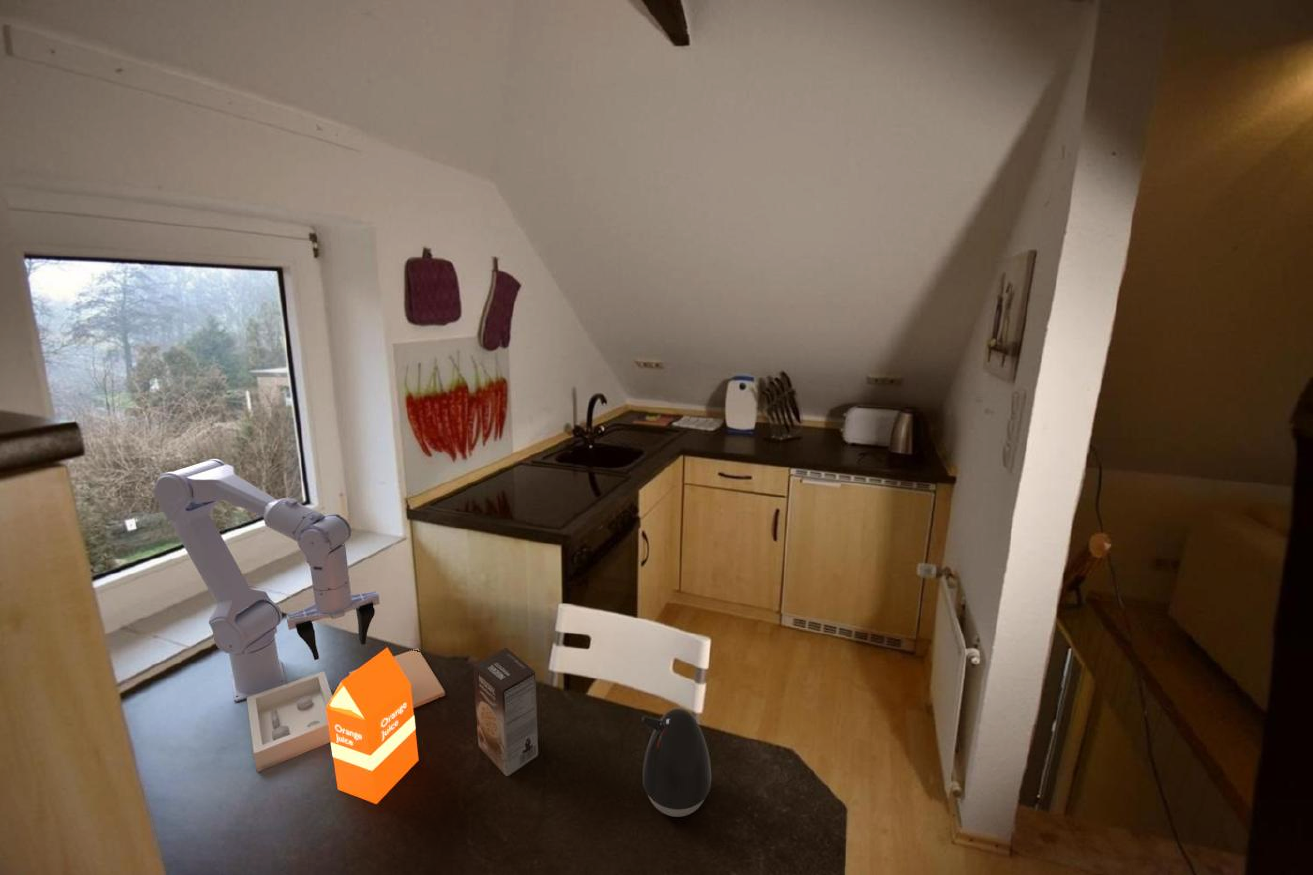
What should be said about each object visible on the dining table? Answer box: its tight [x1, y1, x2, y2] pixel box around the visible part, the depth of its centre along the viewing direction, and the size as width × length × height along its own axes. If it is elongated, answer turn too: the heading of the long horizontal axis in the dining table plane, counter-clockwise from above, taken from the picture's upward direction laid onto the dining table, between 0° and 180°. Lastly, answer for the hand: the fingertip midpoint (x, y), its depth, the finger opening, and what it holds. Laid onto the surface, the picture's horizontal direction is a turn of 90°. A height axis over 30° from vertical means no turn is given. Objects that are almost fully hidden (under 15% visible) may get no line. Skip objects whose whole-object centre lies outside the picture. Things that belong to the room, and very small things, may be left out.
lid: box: [348, 648, 446, 709], centre depth 107 cm, size 17×13×5 cm
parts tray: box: [246, 670, 333, 773], centre depth 97 cm, size 16×12×4 cm
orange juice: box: [326, 646, 419, 805], centre depth 86 cm, size 8×9×20 cm
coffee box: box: [472, 647, 539, 777], centre depth 91 cm, size 9×6×16 cm
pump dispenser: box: [641, 707, 712, 818], centre depth 83 cm, size 10×10×15 cm
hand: (339, 649), depth 104 cm, fingers open, 7 cm apart
